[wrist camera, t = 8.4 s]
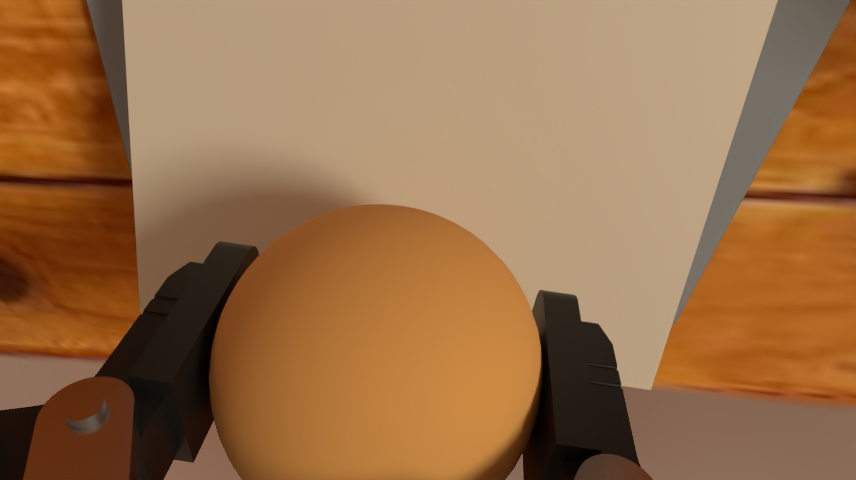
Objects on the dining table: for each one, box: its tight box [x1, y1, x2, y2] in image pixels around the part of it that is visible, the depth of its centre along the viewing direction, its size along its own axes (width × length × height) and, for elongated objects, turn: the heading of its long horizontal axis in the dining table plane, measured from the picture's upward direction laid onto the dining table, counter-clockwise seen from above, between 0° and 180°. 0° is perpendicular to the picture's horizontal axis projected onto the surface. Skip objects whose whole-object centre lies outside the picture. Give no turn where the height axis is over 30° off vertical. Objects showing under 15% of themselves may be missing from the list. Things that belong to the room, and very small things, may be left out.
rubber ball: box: [209, 204, 543, 480], centre depth 10 cm, size 6×6×6 cm
